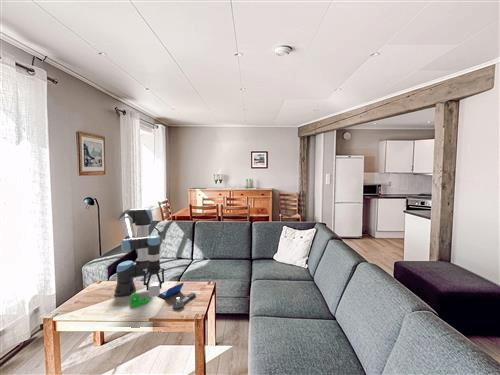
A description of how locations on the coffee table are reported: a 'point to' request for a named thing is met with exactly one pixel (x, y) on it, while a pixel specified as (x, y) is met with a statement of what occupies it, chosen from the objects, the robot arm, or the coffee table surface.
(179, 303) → the ladle
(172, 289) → the handheld game console
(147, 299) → the mechanical part
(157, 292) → the grey metal block
